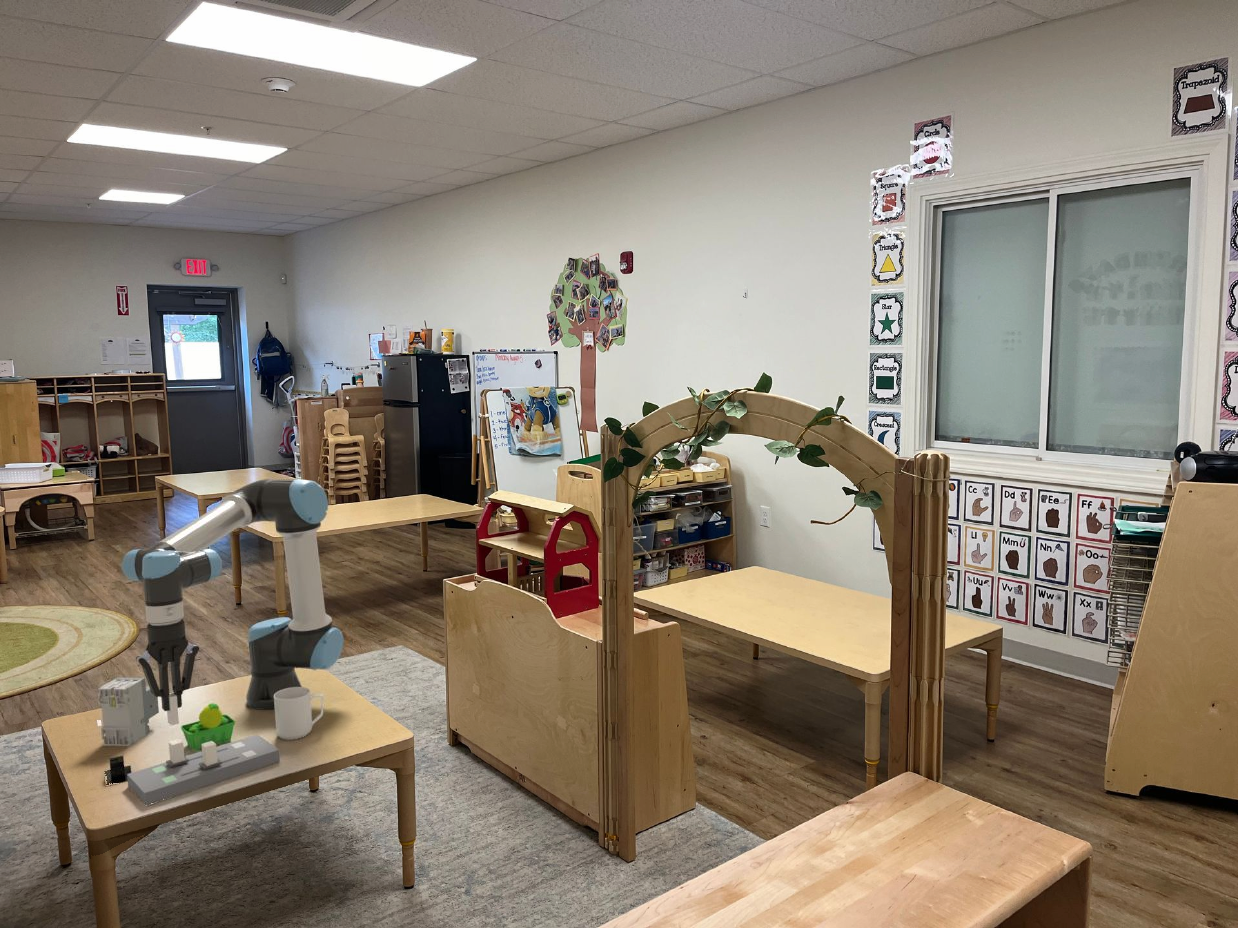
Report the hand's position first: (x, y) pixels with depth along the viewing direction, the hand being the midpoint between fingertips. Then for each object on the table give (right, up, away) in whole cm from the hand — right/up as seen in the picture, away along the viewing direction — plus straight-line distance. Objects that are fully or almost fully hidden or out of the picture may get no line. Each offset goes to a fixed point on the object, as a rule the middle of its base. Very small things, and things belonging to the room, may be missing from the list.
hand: (173, 722), depth 202 cm
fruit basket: (-4, -13, +26) cm, 30 cm away
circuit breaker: (-27, -13, +33) cm, 45 cm away
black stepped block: (-18, -16, +9) cm, 26 cm away
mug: (+18, -12, +32) cm, 38 cm away
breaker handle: (-3, -12, +8) cm, 15 cm away
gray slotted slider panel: (+3, -15, +9) cm, 18 cm away
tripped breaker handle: (+5, -12, +6) cm, 14 cm away
